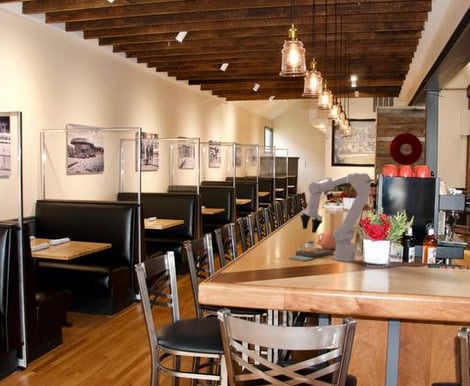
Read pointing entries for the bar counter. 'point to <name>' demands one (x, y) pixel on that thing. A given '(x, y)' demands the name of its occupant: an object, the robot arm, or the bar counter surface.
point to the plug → (309, 247)
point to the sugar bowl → (327, 241)
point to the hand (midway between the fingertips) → (309, 230)
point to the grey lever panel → (318, 253)
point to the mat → (301, 258)
